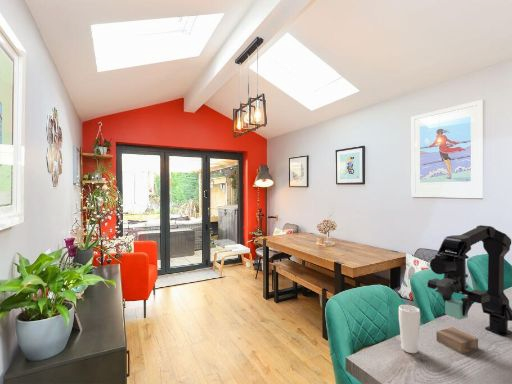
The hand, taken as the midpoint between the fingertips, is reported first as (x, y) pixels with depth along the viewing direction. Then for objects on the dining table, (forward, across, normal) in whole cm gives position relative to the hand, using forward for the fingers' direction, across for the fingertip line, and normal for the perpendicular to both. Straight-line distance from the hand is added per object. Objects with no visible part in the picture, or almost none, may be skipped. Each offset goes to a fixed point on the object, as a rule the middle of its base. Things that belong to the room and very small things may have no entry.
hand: (456, 312), depth 102 cm
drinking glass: (+12, -5, -19) cm, 23 cm away
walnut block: (+12, 0, 0) cm, 12 cm away
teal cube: (+1, 0, 0) cm, 1 cm away
